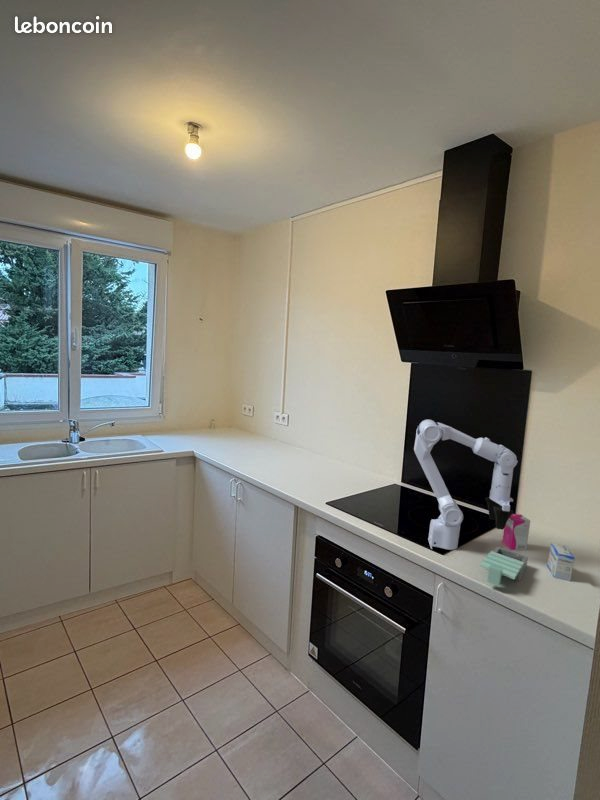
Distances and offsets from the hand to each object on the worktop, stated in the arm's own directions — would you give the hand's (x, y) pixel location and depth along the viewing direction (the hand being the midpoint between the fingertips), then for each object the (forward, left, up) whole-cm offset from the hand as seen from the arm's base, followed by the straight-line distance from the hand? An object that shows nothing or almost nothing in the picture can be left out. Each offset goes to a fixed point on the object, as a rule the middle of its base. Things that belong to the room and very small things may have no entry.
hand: (496, 524), depth 137 cm
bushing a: (+4, -10, -10) cm, 14 cm away
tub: (+1, -11, -10) cm, 15 cm away
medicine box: (+17, -9, -11) cm, 22 cm away
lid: (-4, -19, -8) cm, 21 cm away
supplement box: (+9, +7, -11) cm, 16 cm away
